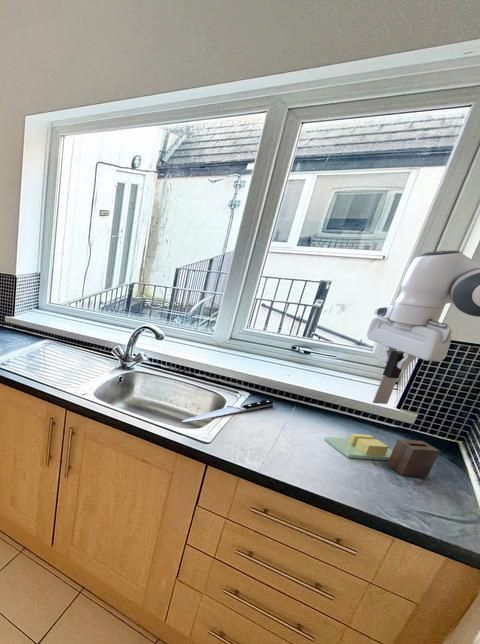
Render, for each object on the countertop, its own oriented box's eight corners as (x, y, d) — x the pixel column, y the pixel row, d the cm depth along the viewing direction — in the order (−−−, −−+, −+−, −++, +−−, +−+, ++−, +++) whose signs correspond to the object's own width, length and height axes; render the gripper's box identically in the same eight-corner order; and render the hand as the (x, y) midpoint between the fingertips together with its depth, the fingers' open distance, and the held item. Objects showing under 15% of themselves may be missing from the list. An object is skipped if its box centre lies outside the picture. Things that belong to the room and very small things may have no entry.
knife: (383, 401, 117) (403, 351, 112) (390, 405, 115) (411, 353, 110) (369, 401, 118) (389, 350, 112) (376, 404, 115) (396, 353, 110)
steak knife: (168, 420, 139) (169, 413, 139) (260, 402, 151) (261, 396, 150) (181, 426, 135) (182, 419, 134) (274, 407, 146) (275, 401, 146)
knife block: (410, 466, 114) (422, 440, 111) (427, 477, 109) (439, 450, 106) (386, 464, 114) (397, 439, 112) (402, 475, 110) (413, 449, 107)
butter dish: (374, 443, 125) (375, 440, 125) (402, 461, 116) (404, 458, 116) (324, 439, 127) (325, 436, 126) (348, 457, 118) (349, 454, 117)
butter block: (373, 448, 120) (377, 439, 119) (385, 456, 117) (388, 446, 116) (354, 447, 121) (358, 438, 120) (365, 454, 117) (369, 445, 116)
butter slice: (366, 443, 123) (369, 434, 122) (370, 446, 122) (373, 437, 120) (347, 442, 123) (351, 433, 122) (351, 445, 122) (355, 436, 121)
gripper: (468, 326, 98) (444, 381, 102) (395, 307, 117) (377, 354, 121) (438, 325, 98) (415, 379, 103) (370, 306, 117) (354, 353, 122)
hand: (394, 365), depth 112 cm, fingers closed on knife, 2 cm apart
